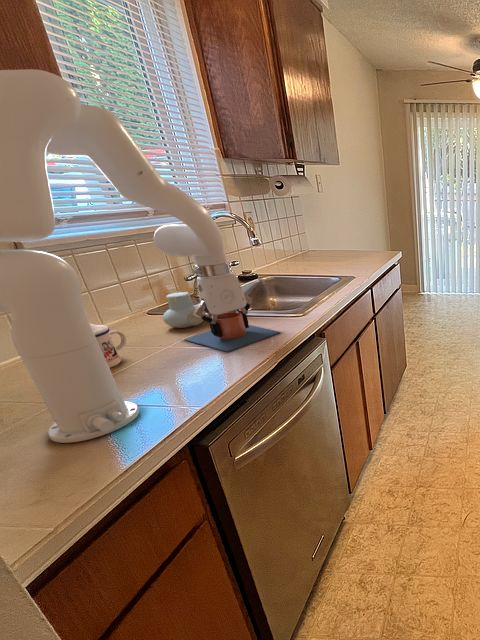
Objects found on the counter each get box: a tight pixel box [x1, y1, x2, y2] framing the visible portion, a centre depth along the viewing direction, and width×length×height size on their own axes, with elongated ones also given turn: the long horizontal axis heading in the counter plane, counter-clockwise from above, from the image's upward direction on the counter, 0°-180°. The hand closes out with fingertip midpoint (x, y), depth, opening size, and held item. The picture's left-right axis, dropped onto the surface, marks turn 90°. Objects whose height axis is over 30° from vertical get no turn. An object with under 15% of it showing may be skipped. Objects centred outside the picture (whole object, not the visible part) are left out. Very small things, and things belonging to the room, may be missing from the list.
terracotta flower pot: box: [216, 312, 247, 340], centre depth 114 cm, size 7×7×6 cm
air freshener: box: [162, 291, 207, 329], centre depth 123 cm, size 11×8×10 cm
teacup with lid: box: [90, 323, 127, 369], centre depth 97 cm, size 12×9×12 cm
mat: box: [183, 324, 281, 353], centre depth 115 cm, size 20×16×1 cm
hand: (231, 331), depth 115 cm, fingers closed on terracotta flower pot, 7 cm apart
